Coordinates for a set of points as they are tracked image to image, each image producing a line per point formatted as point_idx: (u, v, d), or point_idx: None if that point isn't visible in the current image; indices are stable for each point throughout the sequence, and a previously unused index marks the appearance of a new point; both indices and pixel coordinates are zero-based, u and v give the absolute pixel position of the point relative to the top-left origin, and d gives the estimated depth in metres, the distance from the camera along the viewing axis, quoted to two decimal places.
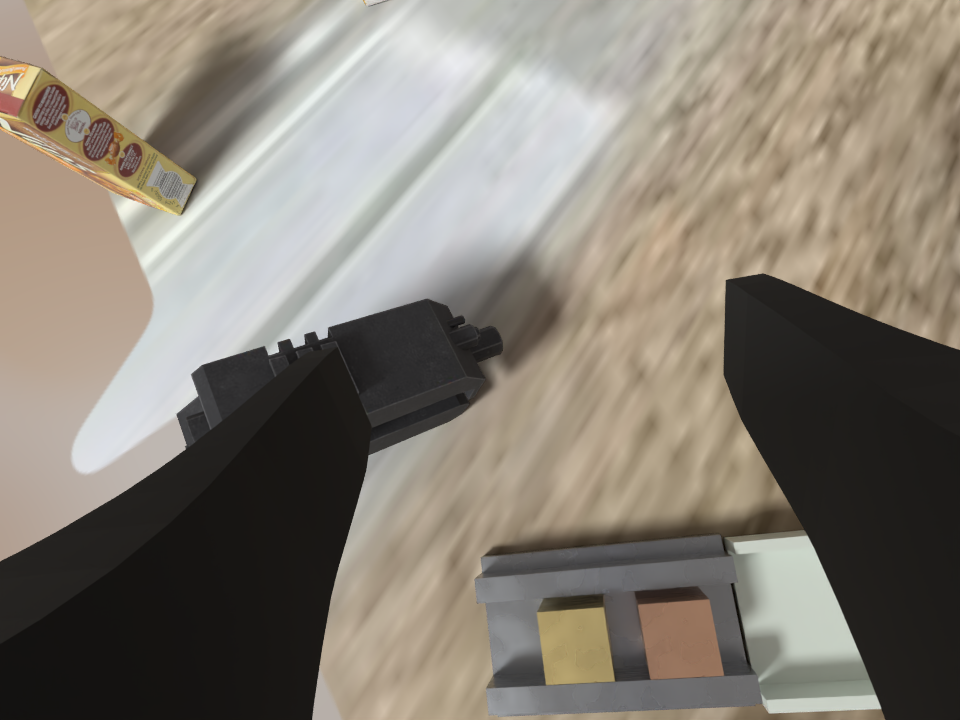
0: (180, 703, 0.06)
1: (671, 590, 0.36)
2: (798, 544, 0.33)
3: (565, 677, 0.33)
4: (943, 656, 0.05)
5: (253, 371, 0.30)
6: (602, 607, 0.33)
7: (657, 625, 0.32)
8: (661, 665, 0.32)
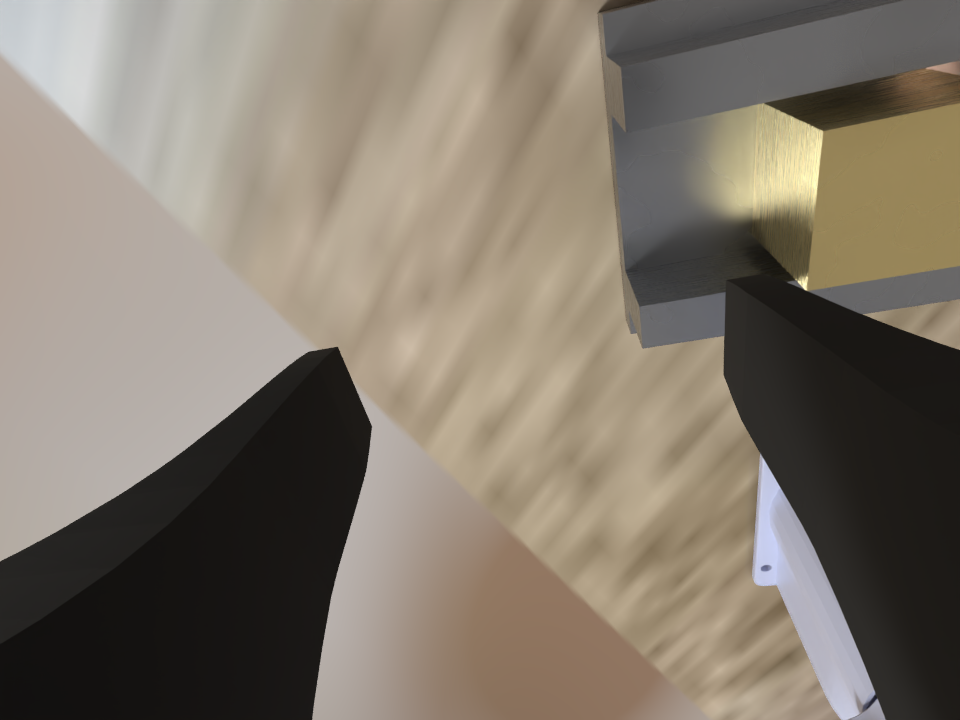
0: (180, 703, 0.06)
1: None
2: None
3: (858, 270, 0.14)
4: (943, 656, 0.05)
5: None
6: None
7: None
8: None
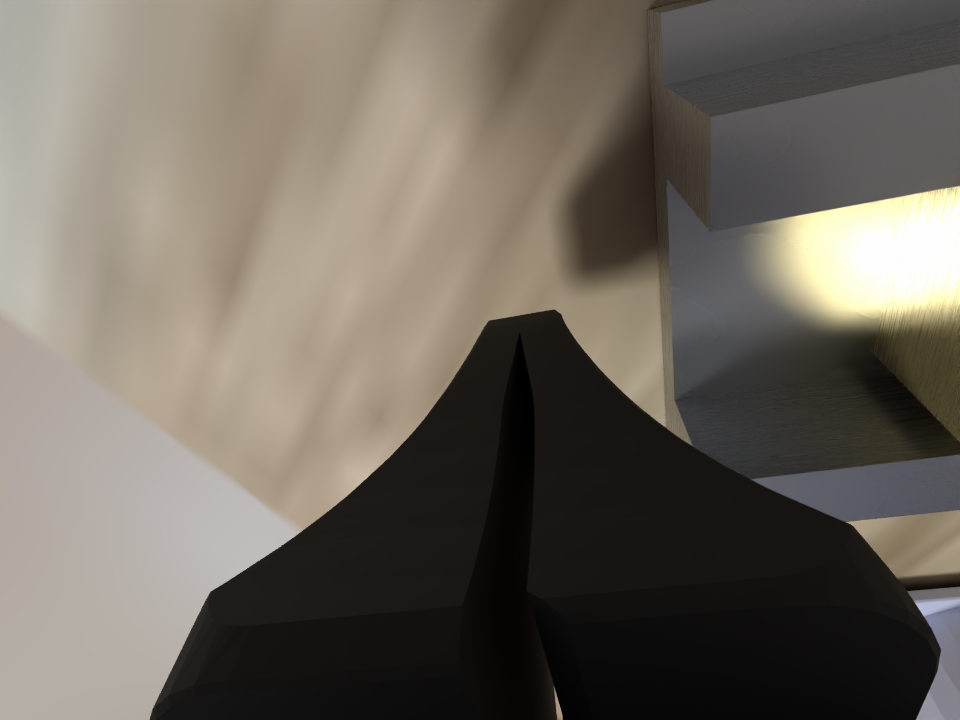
0: (520, 679, 0.05)
1: None
2: None
3: None
4: None
5: None
6: None
7: None
8: None
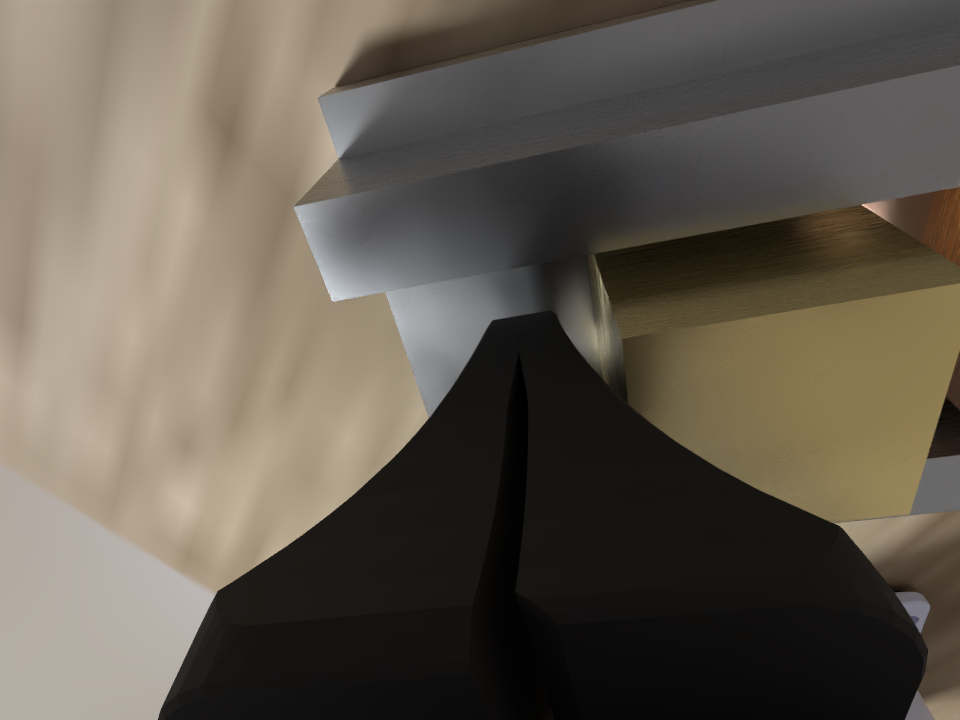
0: (527, 679, 0.05)
1: None
2: None
3: None
4: None
5: None
6: None
7: None
8: None
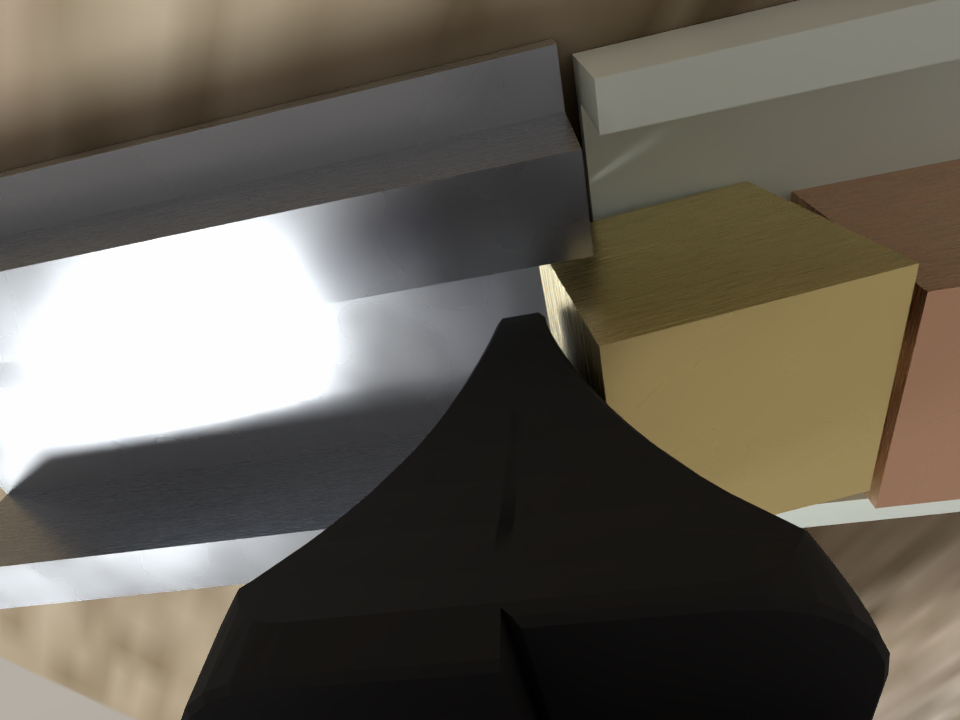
0: None
1: (952, 174, 0.09)
2: (893, 51, 0.07)
3: None
4: None
5: None
6: (908, 263, 0.07)
7: None
8: (934, 471, 0.09)
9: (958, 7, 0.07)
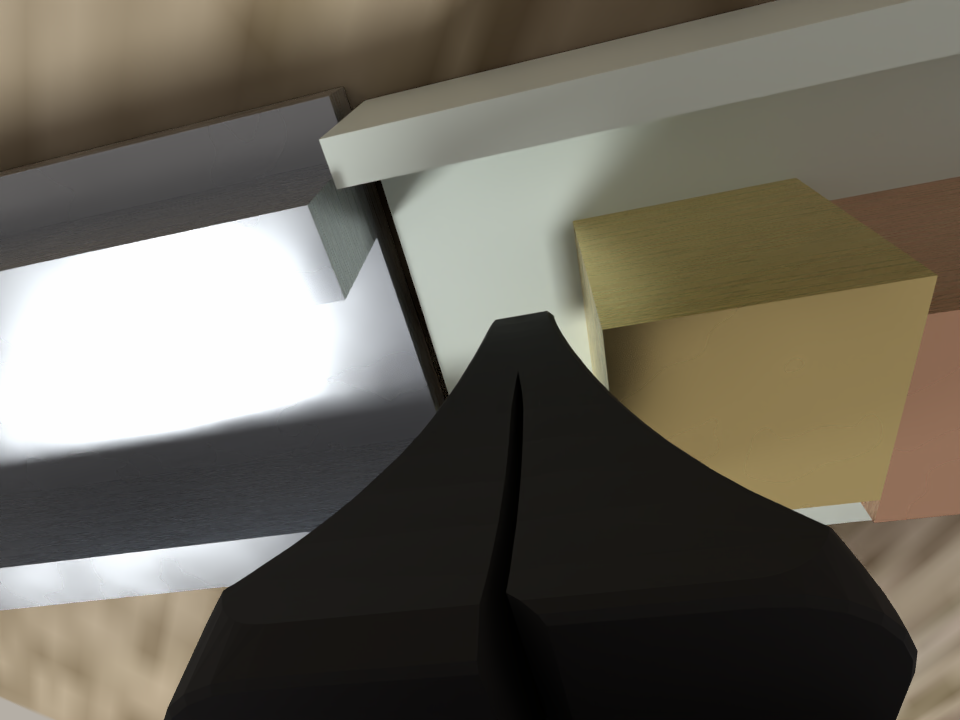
0: (532, 678, 0.05)
1: (952, 193, 0.09)
2: (585, 114, 0.07)
3: None
4: None
5: None
6: (927, 274, 0.07)
7: None
8: (933, 486, 0.09)
9: (634, 76, 0.07)
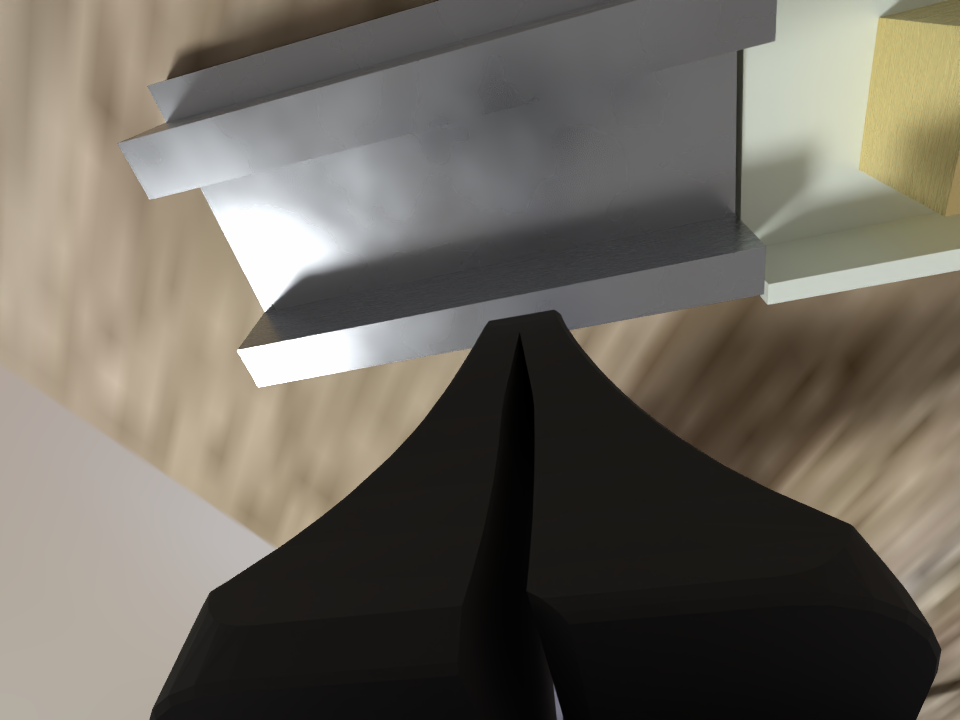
0: (520, 679, 0.05)
1: None
2: None
3: None
4: None
5: None
6: None
7: None
8: None
9: None
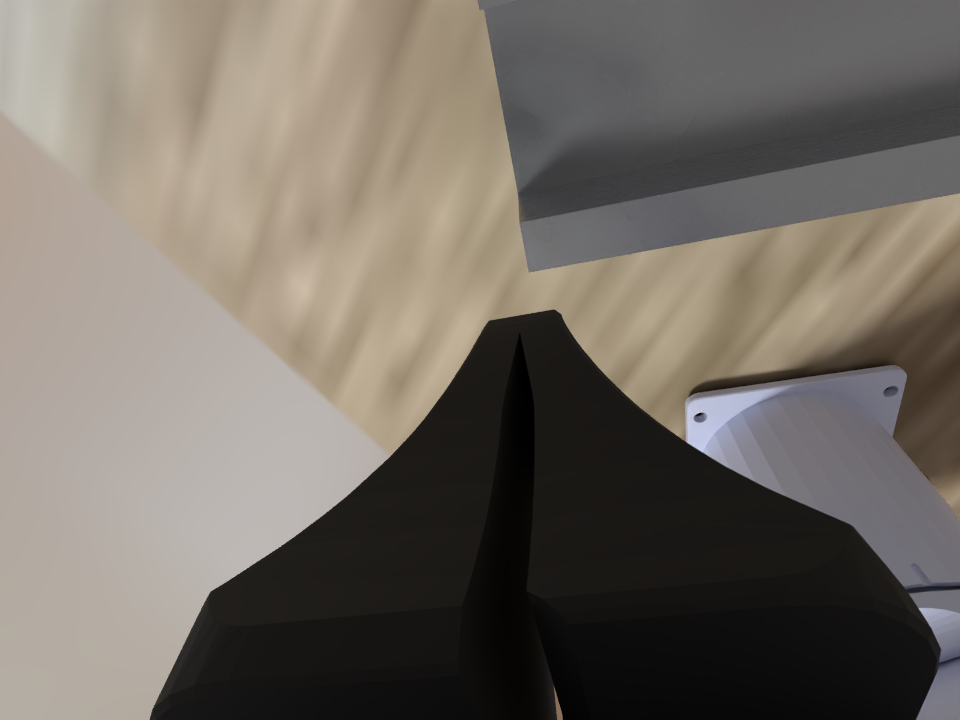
0: (520, 679, 0.05)
1: None
2: None
3: None
4: None
5: None
6: None
7: None
8: None
9: None
